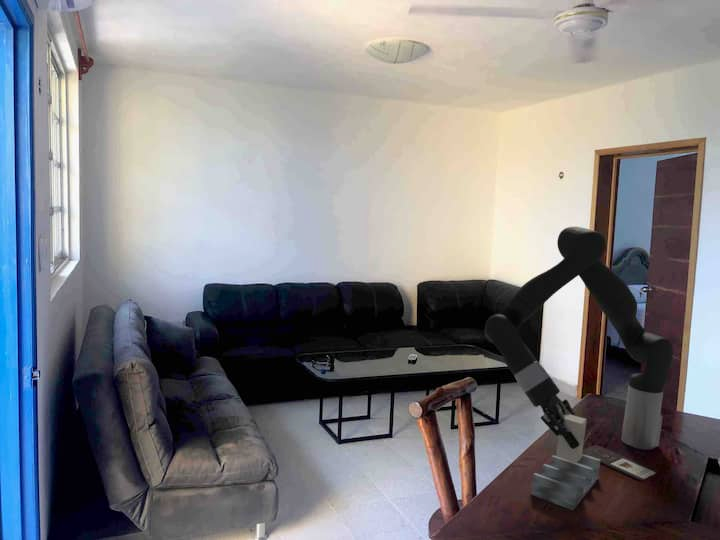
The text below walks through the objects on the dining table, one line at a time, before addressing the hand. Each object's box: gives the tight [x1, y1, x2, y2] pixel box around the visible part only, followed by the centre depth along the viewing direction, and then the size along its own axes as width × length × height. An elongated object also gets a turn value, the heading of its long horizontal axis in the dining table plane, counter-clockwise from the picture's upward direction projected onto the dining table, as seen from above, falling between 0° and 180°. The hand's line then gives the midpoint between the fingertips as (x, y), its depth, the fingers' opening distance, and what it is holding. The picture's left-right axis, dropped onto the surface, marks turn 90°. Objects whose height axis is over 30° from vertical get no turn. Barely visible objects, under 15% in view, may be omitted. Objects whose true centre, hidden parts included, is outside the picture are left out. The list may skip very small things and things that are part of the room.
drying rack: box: [530, 454, 601, 511], centre depth 146 cm, size 10×20×5 cm, turn 143°
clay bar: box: [555, 414, 588, 463], centre depth 144 cm, size 5×4×10 cm
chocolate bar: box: [582, 444, 659, 482], centre depth 161 cm, size 9×1×18 cm
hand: (578, 443), depth 143 cm, fingers closed on clay bar, 4 cm apart
